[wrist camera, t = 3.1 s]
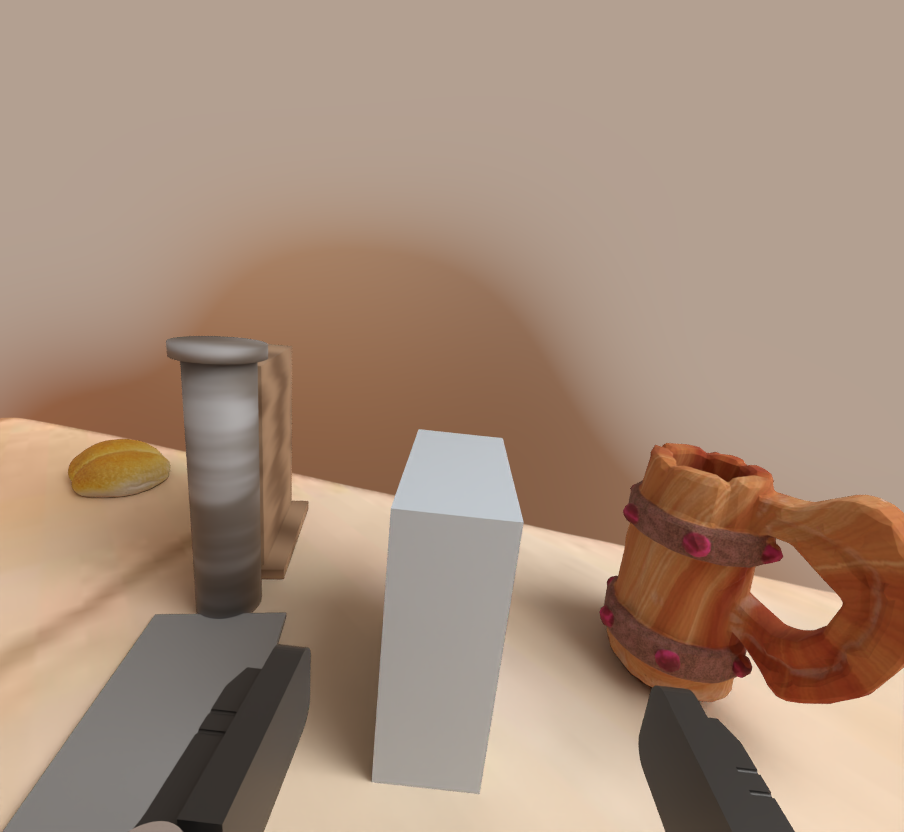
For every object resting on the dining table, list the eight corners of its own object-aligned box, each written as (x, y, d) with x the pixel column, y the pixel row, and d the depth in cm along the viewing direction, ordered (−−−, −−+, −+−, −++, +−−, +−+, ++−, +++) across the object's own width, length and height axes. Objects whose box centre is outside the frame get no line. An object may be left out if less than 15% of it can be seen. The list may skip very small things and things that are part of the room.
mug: (562, 631, 31) (603, 427, 27) (637, 600, 35) (683, 419, 31) (804, 863, 19) (944, 559, 15) (873, 774, 23) (998, 517, 19)
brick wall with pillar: (266, 628, 28) (262, 353, 24) (164, 630, 27) (138, 343, 23) (308, 508, 44) (310, 326, 39) (244, 507, 43) (238, 320, 38)
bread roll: (78, 510, 40) (72, 469, 39) (66, 475, 46) (61, 438, 45) (182, 488, 45) (179, 451, 44) (159, 459, 51) (156, 427, 50)
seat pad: (204, 886, 16) (203, 881, 16) (-50, 914, 15) (-52, 908, 15) (286, 616, 30) (286, 612, 29) (155, 618, 28) (155, 614, 28)
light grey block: (371, 782, 20) (390, 508, 17) (402, 625, 30) (418, 429, 26) (479, 793, 20) (523, 522, 17) (475, 632, 30) (502, 438, 26)
